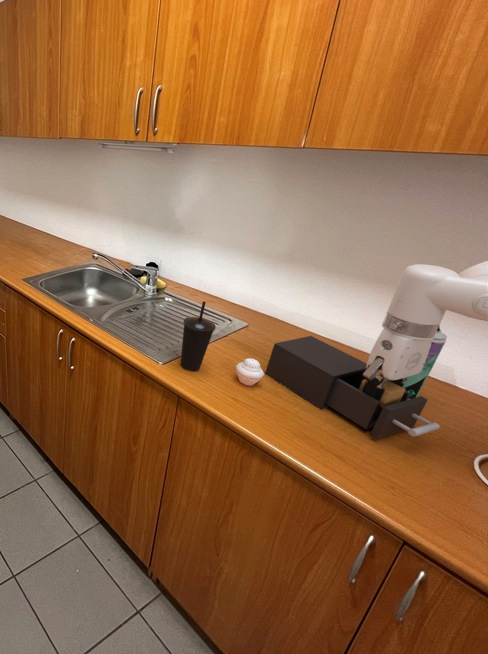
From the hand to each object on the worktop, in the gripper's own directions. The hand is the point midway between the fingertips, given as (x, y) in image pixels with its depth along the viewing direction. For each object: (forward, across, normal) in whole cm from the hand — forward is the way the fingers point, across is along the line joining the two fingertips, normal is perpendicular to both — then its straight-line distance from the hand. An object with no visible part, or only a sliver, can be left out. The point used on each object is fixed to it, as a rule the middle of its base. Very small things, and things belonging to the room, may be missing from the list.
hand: (379, 396), depth 87 cm
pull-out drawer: (+6, 0, 0) cm, 6 cm away
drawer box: (+7, 0, +13) cm, 15 cm away
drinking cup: (+6, -23, +29) cm, 38 cm away
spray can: (+7, +18, +4) cm, 20 cm away
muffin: (+7, -14, +19) cm, 25 cm away
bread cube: (+1, 0, 0) cm, 1 cm away
